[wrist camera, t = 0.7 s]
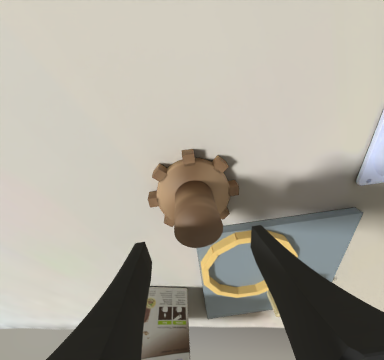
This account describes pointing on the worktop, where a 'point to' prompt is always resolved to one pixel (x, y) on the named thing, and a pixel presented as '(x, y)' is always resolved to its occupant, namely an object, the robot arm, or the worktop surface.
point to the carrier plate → (247, 268)
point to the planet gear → (194, 198)
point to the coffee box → (166, 325)
